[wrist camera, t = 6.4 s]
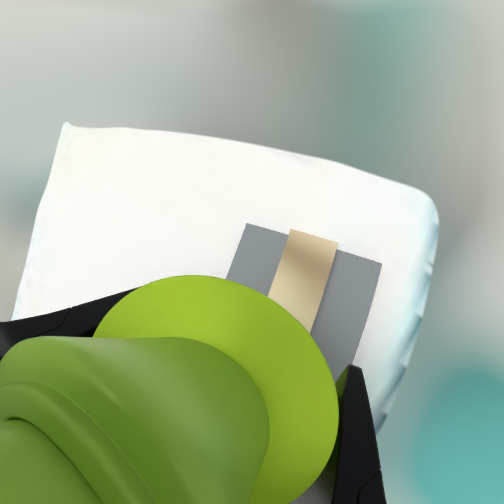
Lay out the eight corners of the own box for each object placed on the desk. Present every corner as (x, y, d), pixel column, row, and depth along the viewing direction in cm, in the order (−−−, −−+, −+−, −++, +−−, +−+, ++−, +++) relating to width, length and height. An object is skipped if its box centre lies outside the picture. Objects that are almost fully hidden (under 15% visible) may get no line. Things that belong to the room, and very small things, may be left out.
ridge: (246, 480, 18) (242, 489, 16) (206, 464, 18) (200, 472, 17) (335, 249, 21) (338, 242, 19) (292, 236, 22) (290, 229, 20)
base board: (290, 489, 17) (289, 493, 17) (171, 441, 20) (167, 444, 19) (379, 265, 21) (382, 263, 20) (248, 226, 24) (246, 223, 23)
